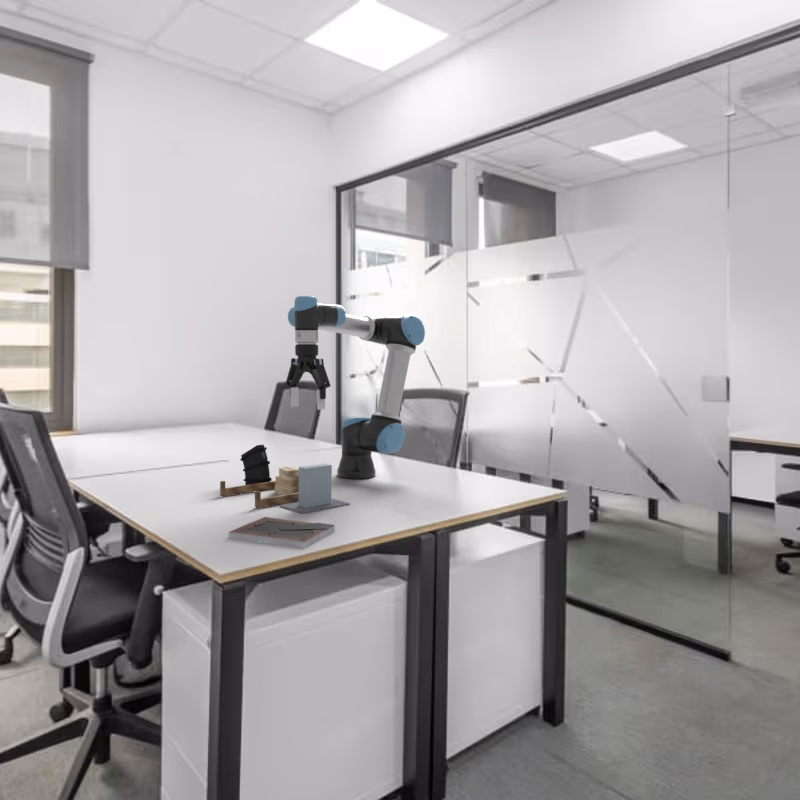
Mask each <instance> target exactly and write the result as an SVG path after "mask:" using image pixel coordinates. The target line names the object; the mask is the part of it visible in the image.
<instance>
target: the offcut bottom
mask: <svg viewBox="0 0 800 800" xmlns="http://www.w3.org/2000/svg"><path fill="white" fill-rule="evenodd" d="M275 492H277V493H276V494H278V493H280V494H279V495H281V494H283V495H286V494H292V493H298V492H299V488H297V489H287V488H284V487H280V486H277V485H275V489H274V493H275Z"/></svg>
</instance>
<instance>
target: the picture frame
mask: <svg viewBox="0 0 800 800" xmlns="http://www.w3.org/2000/svg"><path fill="white" fill-rule="evenodd" d="M335 530H336V526H335V524H331V523H325V522H324V523H323V522H310V521H300V520H294V519H293V520H292V519H286V518H285V519H284V518H275V517H268V516H264V517H261V518H259V519H257V520H254V521H252V522H251V521H250V523H247V524H244V525H241V526H240V527H237V528H234V529H232V530H229V531H228V538H229V537H230V538H229V539H233V538H237V539H236V540H241V539H244V540H243V541H248V540H253V541H252V542H255V541H261V542H260V543H263V542H266V543H265V544H270V543H272V544H271V545H277V546H278V545H280V546H286V547H293V548H294V547H296V548H302V549H306V548H307V547H309V546H311V545H312V544H314V543H316V542H318V541H319V540H321V539H323V538H325V537H327V536H328V535H330V534H332V533H334V532H335Z"/></svg>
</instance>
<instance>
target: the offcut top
mask: <svg viewBox="0 0 800 800" xmlns="http://www.w3.org/2000/svg"><path fill="white" fill-rule="evenodd" d="M278 476H279V477H281V478H283V479H286V480H293V479H299V467H296V466H295V467H294V466H283V467H278Z"/></svg>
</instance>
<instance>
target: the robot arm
mask: <svg viewBox="0 0 800 800" xmlns="http://www.w3.org/2000/svg"><path fill="white" fill-rule="evenodd" d="M287 320H288V323H289V324H290V326H291V327H293V328H294V334H295V335H294V341H295V343H296V344H295V345H294V349H295V350H294V354H295V357H293V358H292V357H291V359H290V366H289V370H288V372H287V376H286V377H287V378H286V380H285V385H286V386H288V388H289V390H290V391H289V393H290V394H289V397H290V408H296V407H297V408H298V407H299V406H300V405H299V404H300V403H299V401H300V398H299V397H300V396H299V393H300V392H299V386H298V385H299V382H300V381H301V379H302V378H303V375H304V373H309V374H310V375H311V377H312V379H313V380H314V382H315V384H316V386H317V389H316V406H317V407H316V410H318V411H319V410H325V409H326V399H327V398H326V397H327V395H326V394H327V391H326V390H327V389H328V388H331V383H330V380H329V377H328V373H327V371H326V368H325V363H324V359H323V358H317V356H319V345H318V344H317V343H319V331H323V332H330V333H336V334H343V335H347V336H353V337H358V338H359V339H361V340H362V341H367V342H371V343H375V344H378V345H384V346H385V348H386V349H387V350H388V351H387V352H388V354H387V357H386V362H385V368H384V373H383V377H382V383H381V386H380V392H379V398H378V402H377V408H376V411H375V412H373V413H372V414H371V415H370V416H363V417H362V416H360V417H349V418H347V417H346V418H344V419H343V420H342V424H341V458H340V460H339V464H338V468H337V470H336V475H337V477H339V478H342V477H343V478H342V479H350V478H358V479H359V478H363V479H370V477H371V478H374V477H376V474H377V473H376V472H377V471H376V468H375V465H374V461H373V458H372V452H374V453H379V454H385V455H386V454H391V455H392V454H395V453H397V452H398V450H399V451H400V449H401V448H402V447H403V444H404V442H405V438H406V432H405V427H404V426H403V425H402V419H401V417H400V416H399V415H400V409H401V404H402V399H403V395H404V389H405V385H406V384H405V383H406V380H407V375H408V370H409V365H410V364H409V363H410V360H411V356H412V355H413V354H414V353H415V352H416V349H417V346H419V345H421V344H422V343H423V342H424V339H425V336H426V331H425V326H424V324H423V322H422V320H421V319H420V317H419V316H417V315H414V314H407V313H405V314H399V315H397V314H396V315H381V316H380V315H379V316H370V315H364V316H357V315H353V314H347V311H346V309H345V308H344V307H343V306H342V305H341V304H337V303H320V302H318V297H317V296H312V295H301V296H300V295H299V296H296V297H295V298H294V305H293V307H291V308H290V309H289V310H288V312H287ZM296 356H297V357H296ZM359 480H360V479H359Z"/></svg>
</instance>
